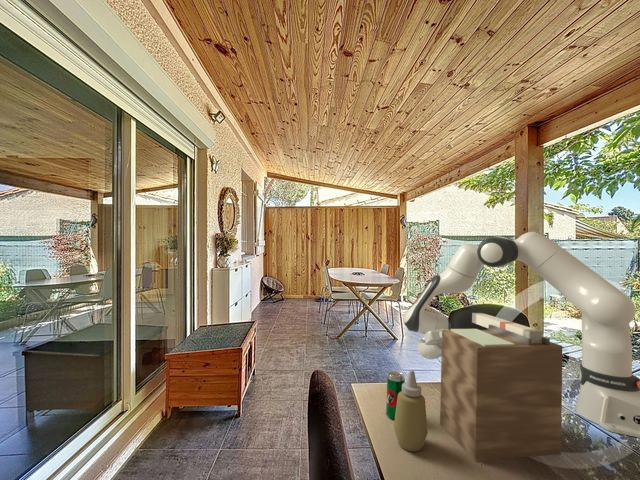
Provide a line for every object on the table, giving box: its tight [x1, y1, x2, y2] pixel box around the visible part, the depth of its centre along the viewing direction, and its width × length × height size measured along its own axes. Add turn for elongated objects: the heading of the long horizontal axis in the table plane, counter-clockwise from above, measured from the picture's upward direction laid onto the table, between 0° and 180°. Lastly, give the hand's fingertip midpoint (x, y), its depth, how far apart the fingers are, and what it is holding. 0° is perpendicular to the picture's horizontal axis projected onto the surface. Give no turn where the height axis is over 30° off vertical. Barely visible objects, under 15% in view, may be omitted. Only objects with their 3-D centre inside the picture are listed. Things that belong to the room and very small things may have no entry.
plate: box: [451, 328, 515, 346], centre depth 80 cm, size 14×8×1 cm, turn 9°
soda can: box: [385, 371, 406, 421], centre depth 89 cm, size 5×5×12 cm
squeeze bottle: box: [393, 370, 428, 452], centre depth 76 cm, size 8×8×18 cm
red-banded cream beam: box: [471, 312, 543, 343], centre depth 87 cm, size 22×4×3 cm, turn 9°
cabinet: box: [439, 325, 563, 462], centre depth 80 cm, size 15×23×28 cm, turn 99°
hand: (463, 331), depth 105 cm, fingers open, 8 cm apart
